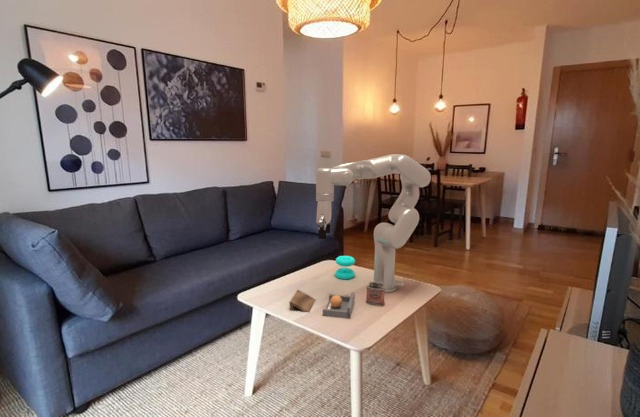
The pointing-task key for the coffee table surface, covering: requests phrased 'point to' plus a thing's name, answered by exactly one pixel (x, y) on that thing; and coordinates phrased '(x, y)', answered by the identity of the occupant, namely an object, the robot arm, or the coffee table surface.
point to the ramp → (301, 301)
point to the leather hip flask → (375, 293)
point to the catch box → (341, 311)
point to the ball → (336, 301)
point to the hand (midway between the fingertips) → (324, 235)
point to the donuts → (345, 261)
